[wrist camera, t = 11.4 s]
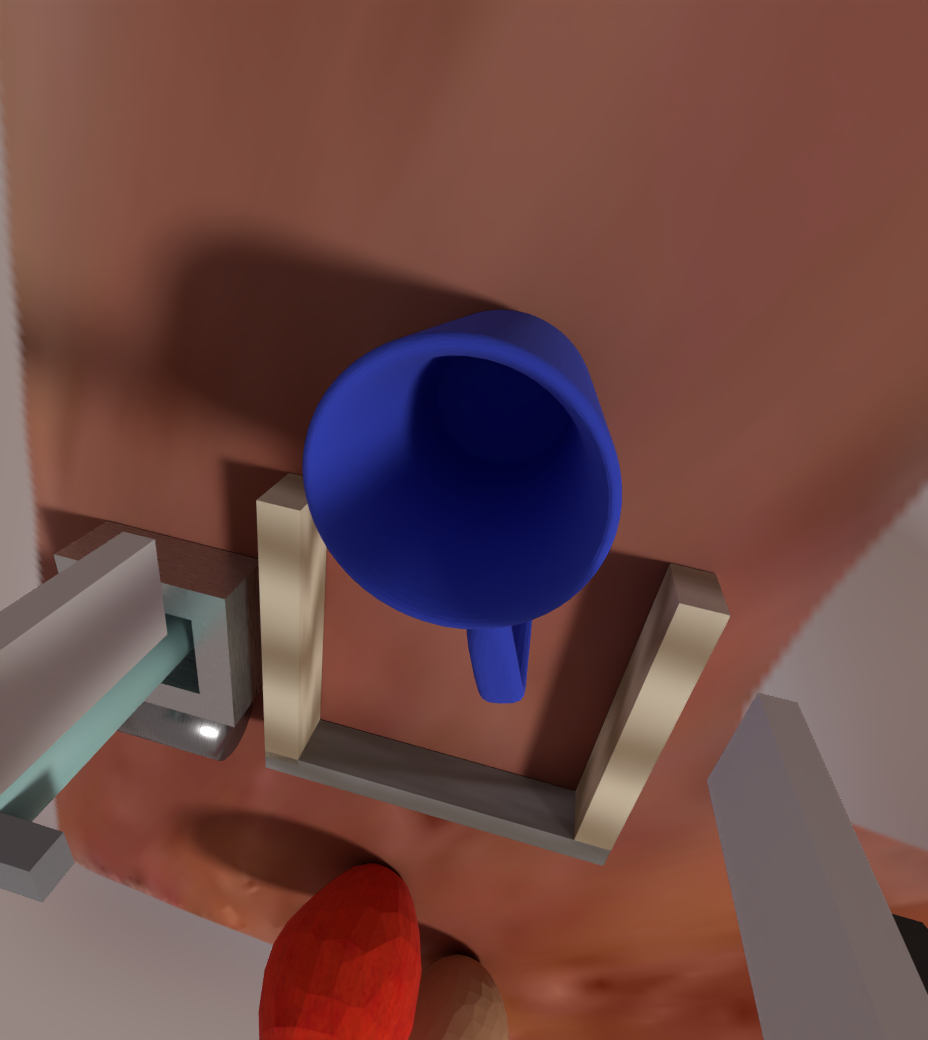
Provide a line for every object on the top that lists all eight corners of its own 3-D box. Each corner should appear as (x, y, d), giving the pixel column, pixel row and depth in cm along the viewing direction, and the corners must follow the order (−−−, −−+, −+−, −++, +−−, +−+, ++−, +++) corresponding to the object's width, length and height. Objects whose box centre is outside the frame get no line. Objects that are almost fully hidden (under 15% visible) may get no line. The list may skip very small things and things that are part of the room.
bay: (289, 472, 26) (256, 500, 24) (715, 573, 24) (730, 615, 22) (289, 727, 35) (265, 767, 33) (602, 815, 33) (603, 865, 31)
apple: (290, 858, 43) (193, 1066, 32) (369, 818, 38) (285, 1045, 28) (384, 927, 45) (321, 1143, 34) (469, 897, 40) (427, 1135, 30)
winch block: (107, 520, 30) (44, 559, 27) (262, 560, 29) (218, 605, 26) (139, 689, 37) (92, 738, 33) (267, 726, 36) (233, 780, 32)
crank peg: (109, 576, 31) (-183, 792, 19) (243, 612, 30) (24, 860, 18) (119, 623, 32) (-144, 848, 21) (246, 658, 32) (47, 912, 20)
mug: (444, 565, 27) (377, 726, 18) (388, 305, 22) (256, 360, 13) (619, 557, 25) (634, 735, 16) (603, 268, 20) (613, 305, 11)
